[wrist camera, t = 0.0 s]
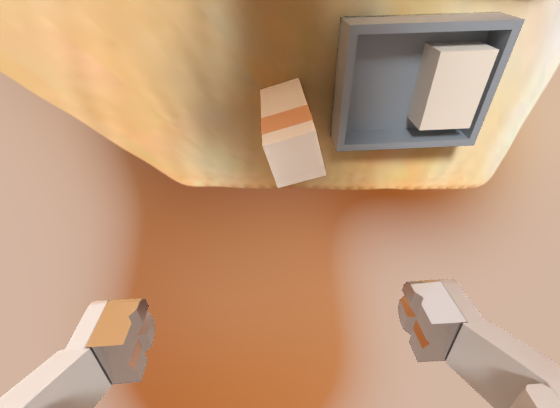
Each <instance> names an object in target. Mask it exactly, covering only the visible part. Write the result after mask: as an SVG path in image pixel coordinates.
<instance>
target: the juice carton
mask: <svg viewBox="0 0 560 408" xmlns="http://www.w3.org/2000/svg"><path fill="white" fill-rule="evenodd" d="M260 98H261V134H262V145H263V149H264V152H265V154H266V157H267V160H268V163H269V165H270V168H271V171H272V174H273V176H274V179H275V182H276V185H277V187H278V188H281V187H284V186H288V185H292V184H296V183H299V182H303V181H307V180H310V179H314V178H318V177H322V176H325V175H326V171H325V167H324V163H323V158H322V154H321V150H320V146H319V141H318V137H317V133H316V129H315V126H314V122H313V118H312V115H311V112H310V109H309V106H308V104H307V102H306V99H305V96H304V93H303V90H302V87H301V84H300V81H299V78H296V79H293V80H290V81H286V82H283V83H280V84H277V85H273V86H270V87H267V88H264V89H261V90H260Z"/></svg>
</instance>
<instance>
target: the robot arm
mask: <svg viewBox="0 0 560 408" xmlns="http://www.w3.org/2000/svg"><path fill="white" fill-rule="evenodd" d="M402 290H403V293H404V295H405V296H404V297H402V298H401V299H400V300H399V305H398V313H399V318H400V322H401V325H402V327H403V329H404V330H405V331H406V332H408V333H409V334H410V335H411V337H410V340H409V343H410V345H411V348H412V350H413V352H414V354H415V357H416V359H417V361H418V362H427V361H446V363H447V364H448V365H449V366H450V367H451V368H452V369H453V370H454V371H455V372H456V373H457V374H458V375H460V376H461V377H462V378H463V379H464V380H465V381H466V382H467V383H468V384H469V385H470V386H471V387H472V388H473V389H475V391H477V392H478V393H479V394H480V395H481V396H482V397H483V398H484V399H485V400H486V401H487V402H488V403H489V404H491V405H492V406H493V407H494V408H560V365H559V364H557V363H555V362H554V361H552V360H551V359H549V358H547V357H546V356H544V355H543V354H541V353H540V352H538V351H536V350H535V349H533V348H532V347H530V346H529V345H527V344H525V343H524V342H522V341H521V340H519V339H518V338H516V337H514V336H513V335H511V334H510V333H508V332H506V331H505V330H503V329H502V328H500V327H499V326H497V325H495V324H494V323H492V322H491V321H485V320H484V318H483V317H482V316H481V315H480V313H479V311H478V310H477V309H476V307H475V306H474V304H473V303H472V301H471V300H470V299H469V297H468V296H467V294H466V293H465V291H464V290H463V289H462V287H461V286H460V284H459V283H458V282H457V281H456V280H455V279H441V280H424V281H411V282H406V283H405V284H404V286H403V289H402ZM148 307H149V305H148V303H147V301H146V299H117V300H97V301H93V302H92V303H91V304H89V306H88V308H87V309H86V311H85V313H84V315H83V317H82V319H81V320H80V322H79V324H78V326H77V328H76V330H75V332H74V333H73V335H72V337H71V339H70V341H69V343H68V345H67V346H66V348H65V350H59V351H58V352H57V353H55V354H54V355H53V356H52V357H50V358H49V359H48V360H47V361H45V362H44V363H43V364H42V365H40V366H39V367H38V368H37V369H35V370H34V371H33V372H32V373H30V374H29V375H28V376H27V377H25V378H24V379H23V380H22V381H20V382H19V383H18V384H17V385H16V386H14V387H13V388H12V389H10V390H9V391H8V392H7V393H6V394H4V395H3V396H2V397H1V398H0V408H93V407H94V406H95V405H96V404H97V403H98V402H99V401H100V400H101V398H102V397H103V396H104V395H105V393H106V392H107V391H108V390H109V389H110V388H111V387H112V386H111V385H112V384H121V383H132V382H141V379H142V376H143V373H144V370H145V367H146V363H147V358H146V355H145V352H146V351H147V350H148V349H149V348H150V347H151V346H152V343H153V339H154V332H155V324H154V319H153V316H152V315H151V314H149V313H148V312H147V309H148Z"/></svg>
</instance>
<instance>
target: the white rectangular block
mask: <svg viewBox="0 0 560 408" xmlns="http://www.w3.org/2000/svg"><path fill="white" fill-rule="evenodd" d="M498 52H499V49H496V48H494V47H492V46H490V45H487V44H485V43H483V42H481V41H455V42H426V43H425V46H424V50H423V54H422V58H421V62H420V66H419V70H418V74H417V79H416V83H415V87H414V91H413V95H412V99H411V103H410V107H409V111H408V115H407V117H408V118H409V119H410V120H411V122H412V123H413V124H414V125H415V126H416V127H417V128H418V130H441V129H464V128H470V125H471V123H472V120H473V118H474V115H475V112H476V110H477V107H478V104H479V102H480V99H481V97H482V94H483V91H484V89H485V86H486V83H487V81H488V78H489V75H490V73H491V70H492V68H493V65H494V62H495V60H496V57H497V54H498Z"/></svg>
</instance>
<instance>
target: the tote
mask: <svg viewBox="0 0 560 408" xmlns="http://www.w3.org/2000/svg"><path fill="white" fill-rule="evenodd" d="M524 20H525V19H521V18H518V17H514V16H511V15H507V14H504V13H500V12H485V13H452V14H420V15H387V16H354V17H341V19H340V30H339V41H338V53H337V64H336V75H335V86H334V98H333V109H332V120H331V131H330V136H331V139H332V141H333V144H334V146H335V149H336V151H337V152H340V151H362V150H383V149H405V148H426V147H448V146H469V145H474V144H475V141H476V139H477V136H478V134H479V131H480V129H481V126H482V124H483V121H484V119H485V116H486V114H487V112H488V109H489V107H490V104H491V102H492V99H493V97H494V94H495V92H496V89H497V87H498V84H499V82H500V79H501V77H502V74H503V72H504V69H505V67H506V65H507V62H508V60H509V57H510V55H511V52H512V50H513V47H514V45H515V42H516V40H517V37H518V35H519V32H520V30H521V27H522V25H523V23H524ZM455 41H481V42H483V43H485V44H487V45H490V46H492V47H494V48H496V49H499V52H498V54H497V57H496V60H495V62H494V65H493V68H492V70H491V73H490V75H489V78H488V81H487V83H486V86H485V89H484V91H483V94H482V97H481V99H480V102H479V104H478V107H477V110H476V112H475V115H474V118H473V120H472V123H471V125H470V128H464V129H441V130H418V128H417V127H416V126H415V125H414V124H413V123H412V122H411V120H410V119H409V118H408V117H407V115H408V111H409V107H410V103H411V99H412V95H413V91H414V87H415V83H416V79H417V74H418V70H419V66H420V62H421V58H422V54H423V50H424V46H425V43H426V42H455Z"/></svg>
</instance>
